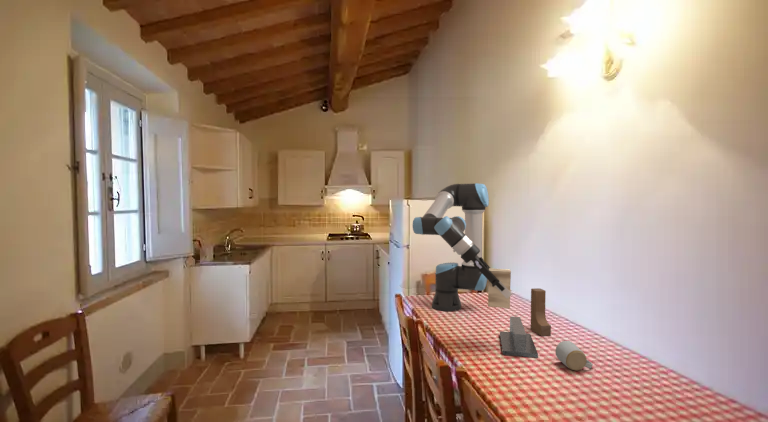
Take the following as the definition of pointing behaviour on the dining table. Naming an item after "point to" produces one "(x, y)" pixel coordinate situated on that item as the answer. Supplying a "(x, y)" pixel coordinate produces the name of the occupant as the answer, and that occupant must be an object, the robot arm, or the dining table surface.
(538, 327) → the wooden block
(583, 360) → the ceramic mug
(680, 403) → the dining table surface
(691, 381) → the dining table surface
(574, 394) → the dining table surface
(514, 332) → the gray t-shaped block
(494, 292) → the birch post
